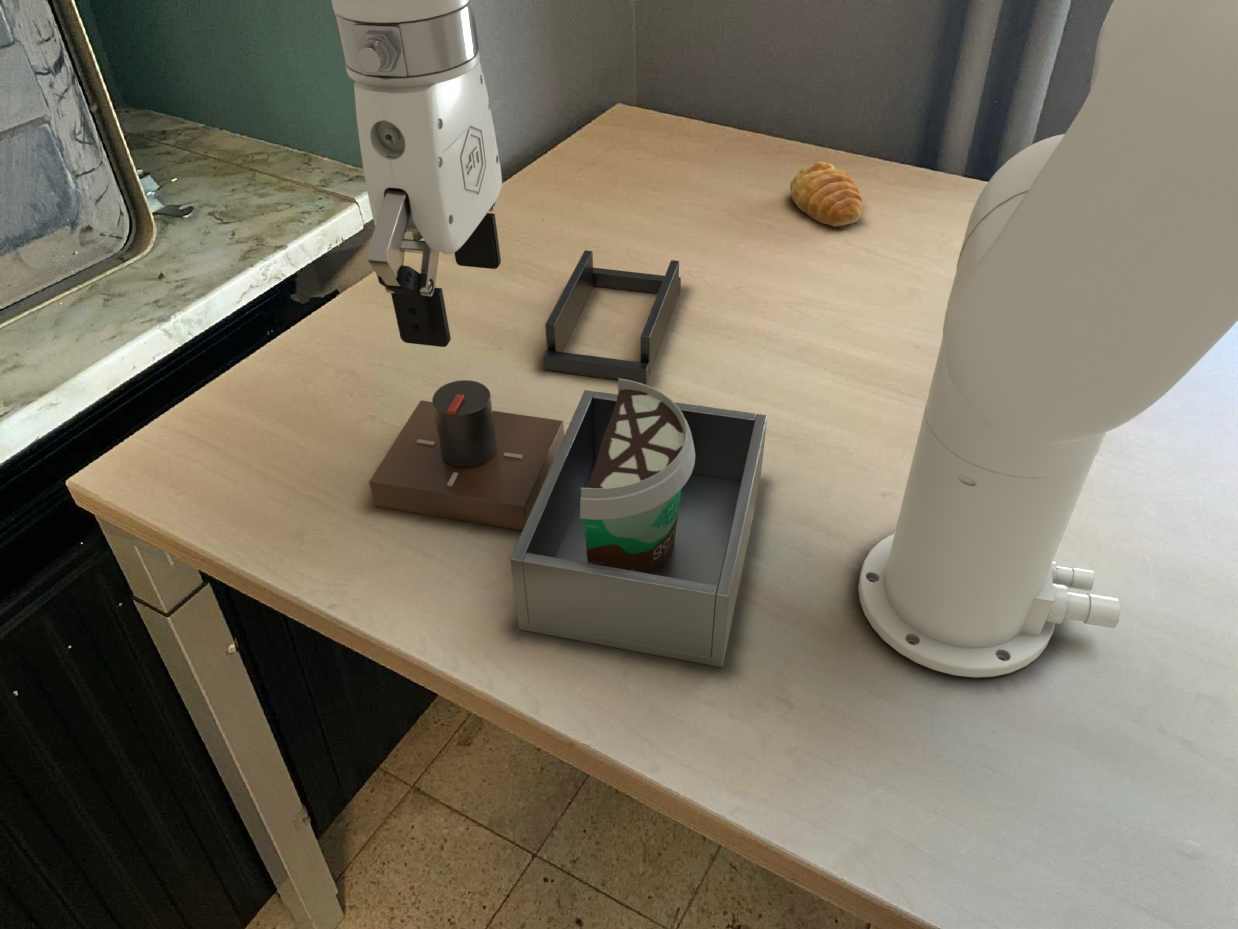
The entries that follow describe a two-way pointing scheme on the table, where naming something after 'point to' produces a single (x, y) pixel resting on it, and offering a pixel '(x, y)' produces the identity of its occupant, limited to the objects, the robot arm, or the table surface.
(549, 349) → the dish rack
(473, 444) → the tap knob
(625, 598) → the grey open box
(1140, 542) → the table surface
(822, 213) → the pastry
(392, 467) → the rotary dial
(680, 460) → the food container
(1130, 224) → the robot arm
